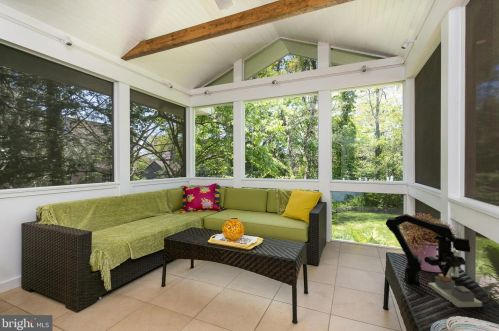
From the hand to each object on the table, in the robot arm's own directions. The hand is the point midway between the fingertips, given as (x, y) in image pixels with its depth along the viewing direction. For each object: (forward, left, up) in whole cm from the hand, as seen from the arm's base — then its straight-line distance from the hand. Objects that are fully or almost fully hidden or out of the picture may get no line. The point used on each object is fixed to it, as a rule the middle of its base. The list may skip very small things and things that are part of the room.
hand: (444, 275), depth 130 cm
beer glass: (+18, +15, -8) cm, 25 cm away
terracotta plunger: (0, 0, -5) cm, 5 cm away
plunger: (0, -11, -6) cm, 12 cm away
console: (0, -6, -8) cm, 10 cm away
